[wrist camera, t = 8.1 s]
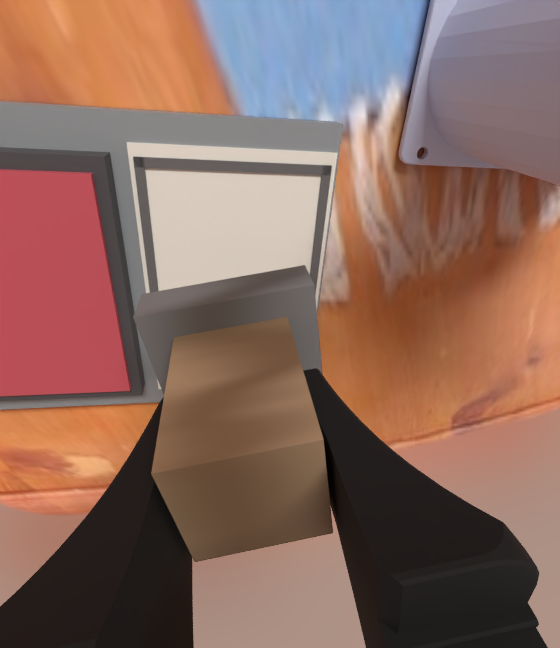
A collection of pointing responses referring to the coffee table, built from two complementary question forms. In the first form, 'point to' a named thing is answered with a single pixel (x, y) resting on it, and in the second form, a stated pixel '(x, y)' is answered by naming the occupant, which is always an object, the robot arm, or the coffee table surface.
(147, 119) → the stamp board
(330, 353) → the coffee table surface
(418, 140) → the robot arm
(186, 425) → the stamp
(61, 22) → the coffee table surface
